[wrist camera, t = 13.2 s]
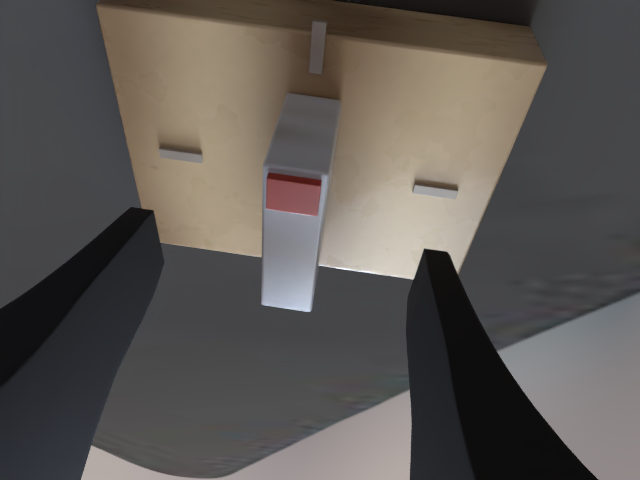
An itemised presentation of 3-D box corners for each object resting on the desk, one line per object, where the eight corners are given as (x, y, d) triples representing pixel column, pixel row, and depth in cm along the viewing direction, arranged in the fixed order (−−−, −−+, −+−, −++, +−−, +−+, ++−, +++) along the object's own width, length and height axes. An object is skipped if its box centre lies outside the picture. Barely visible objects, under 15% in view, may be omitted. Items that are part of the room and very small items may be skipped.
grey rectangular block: (323, 235, 18) (310, 319, 16) (280, 229, 18) (259, 311, 16) (342, 99, 14) (328, 180, 12) (286, 91, 14) (260, 170, 12)
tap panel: (170, 206, 22) (147, 250, 20) (127, -40, 15) (87, -9, 13) (447, 246, 21) (451, 295, 19) (536, 13, 14) (556, 53, 13)
